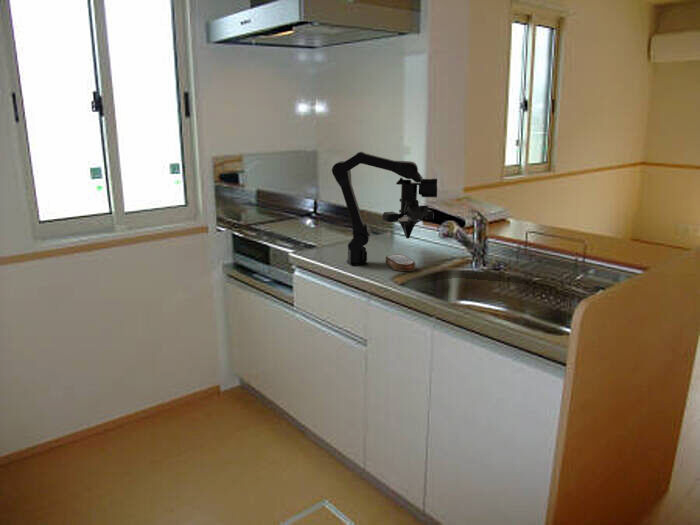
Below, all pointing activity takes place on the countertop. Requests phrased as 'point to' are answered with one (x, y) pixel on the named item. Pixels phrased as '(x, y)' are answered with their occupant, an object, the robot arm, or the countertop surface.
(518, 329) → the countertop surface
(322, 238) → the countertop surface
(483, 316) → the countertop surface
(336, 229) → the countertop surface
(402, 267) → the tin
